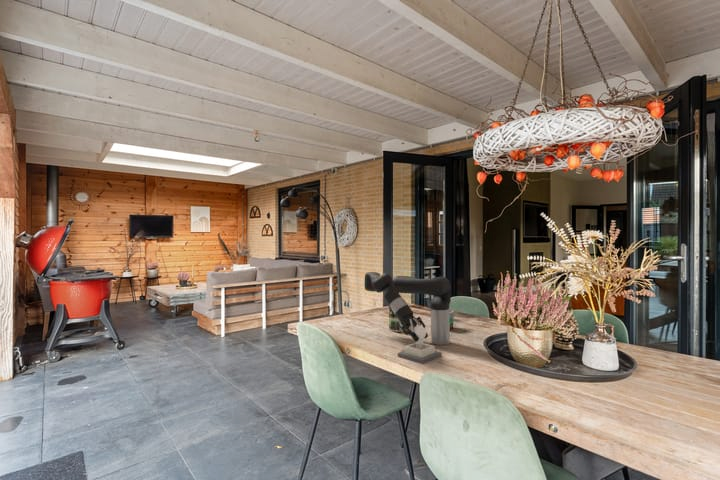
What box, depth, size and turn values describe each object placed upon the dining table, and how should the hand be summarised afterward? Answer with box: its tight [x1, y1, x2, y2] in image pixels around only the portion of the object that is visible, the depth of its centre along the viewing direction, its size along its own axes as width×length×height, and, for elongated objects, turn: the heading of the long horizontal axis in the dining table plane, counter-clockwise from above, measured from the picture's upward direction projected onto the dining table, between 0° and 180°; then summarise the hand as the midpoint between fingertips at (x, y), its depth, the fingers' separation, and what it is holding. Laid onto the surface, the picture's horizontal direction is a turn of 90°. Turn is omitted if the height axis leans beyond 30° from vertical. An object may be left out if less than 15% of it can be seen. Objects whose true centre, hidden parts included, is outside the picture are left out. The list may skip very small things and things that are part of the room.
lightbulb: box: [413, 324, 427, 350], centre depth 167 cm, size 6×6×11 cm
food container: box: [449, 309, 456, 331], centre depth 214 cm, size 12×6×10 cm, turn 131°
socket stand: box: [397, 342, 443, 364], centre depth 167 cm, size 14×14×4 cm
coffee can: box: [388, 304, 407, 333], centre depth 215 cm, size 10×10×14 cm
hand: (422, 339), depth 165 cm, fingers closed on lightbulb, 6 cm apart
